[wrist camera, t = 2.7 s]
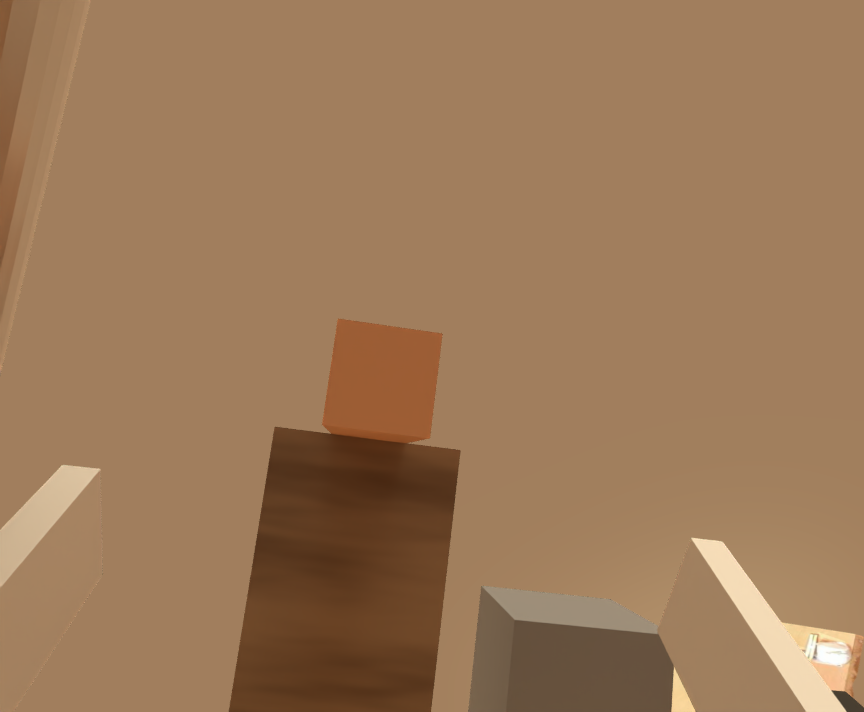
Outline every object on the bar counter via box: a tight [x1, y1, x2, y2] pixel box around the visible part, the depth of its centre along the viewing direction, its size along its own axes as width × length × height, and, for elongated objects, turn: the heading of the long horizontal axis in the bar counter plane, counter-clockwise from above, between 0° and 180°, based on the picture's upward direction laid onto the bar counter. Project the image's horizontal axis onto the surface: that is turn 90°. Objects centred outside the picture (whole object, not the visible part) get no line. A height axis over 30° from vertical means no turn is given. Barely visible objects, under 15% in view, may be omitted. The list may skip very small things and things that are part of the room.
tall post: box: [229, 427, 460, 712], centre depth 37 cm, size 10×10×30 cm
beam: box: [322, 319, 443, 443], centre depth 37 cm, size 26×4×4 cm, turn 7°
